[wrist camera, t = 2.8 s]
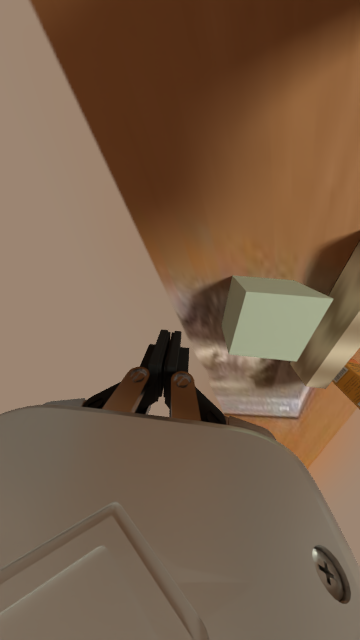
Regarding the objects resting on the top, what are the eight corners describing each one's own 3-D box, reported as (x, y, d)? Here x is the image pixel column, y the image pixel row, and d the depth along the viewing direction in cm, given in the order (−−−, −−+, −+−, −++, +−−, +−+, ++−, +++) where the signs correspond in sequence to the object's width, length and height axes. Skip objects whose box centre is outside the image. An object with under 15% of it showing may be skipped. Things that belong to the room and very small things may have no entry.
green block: (232, 275, 18) (246, 291, 13) (293, 280, 18) (333, 298, 12) (221, 325, 21) (228, 354, 16) (271, 330, 21) (296, 361, 16)
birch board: (367, 227, 14) (421, 224, 11) (395, 229, 14) (459, 226, 11) (289, 363, 23) (305, 386, 20) (306, 365, 23) (325, 388, 20)
